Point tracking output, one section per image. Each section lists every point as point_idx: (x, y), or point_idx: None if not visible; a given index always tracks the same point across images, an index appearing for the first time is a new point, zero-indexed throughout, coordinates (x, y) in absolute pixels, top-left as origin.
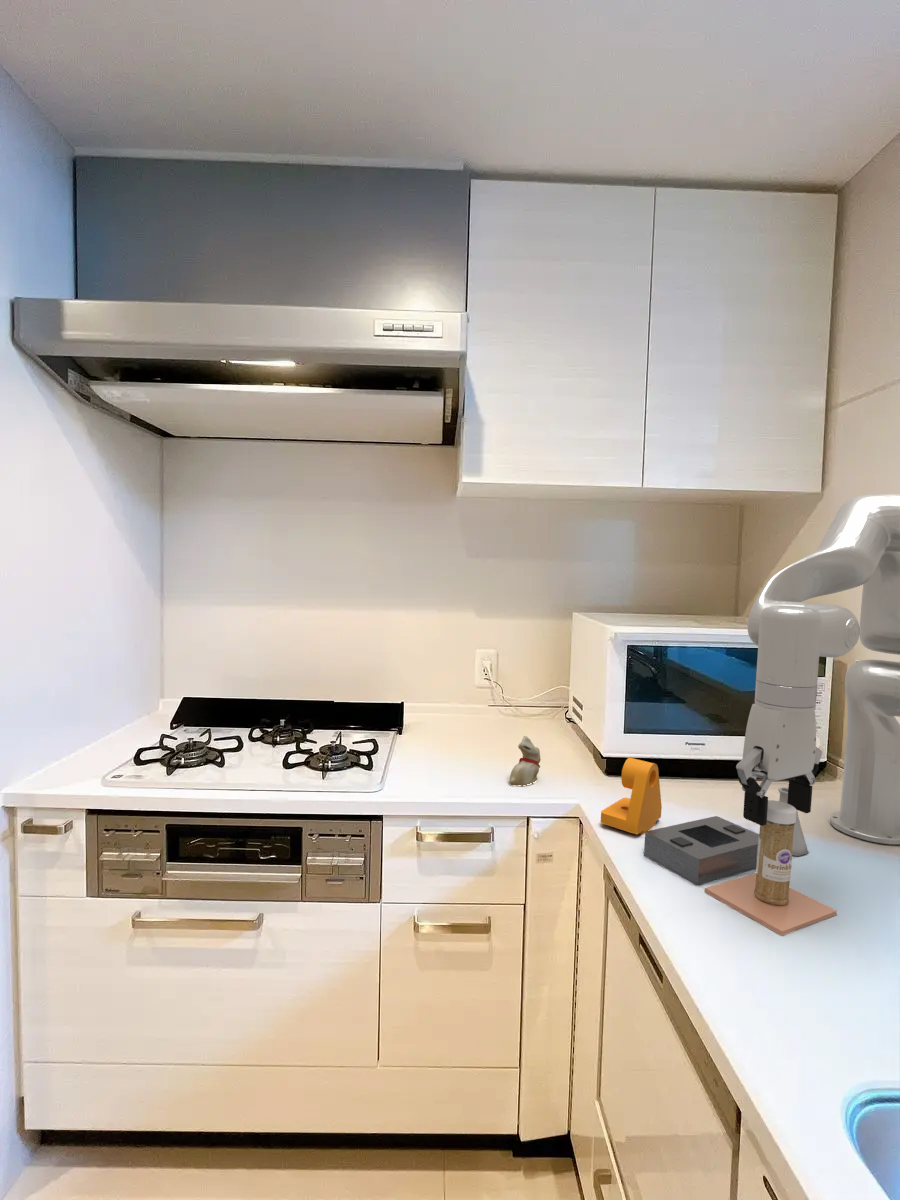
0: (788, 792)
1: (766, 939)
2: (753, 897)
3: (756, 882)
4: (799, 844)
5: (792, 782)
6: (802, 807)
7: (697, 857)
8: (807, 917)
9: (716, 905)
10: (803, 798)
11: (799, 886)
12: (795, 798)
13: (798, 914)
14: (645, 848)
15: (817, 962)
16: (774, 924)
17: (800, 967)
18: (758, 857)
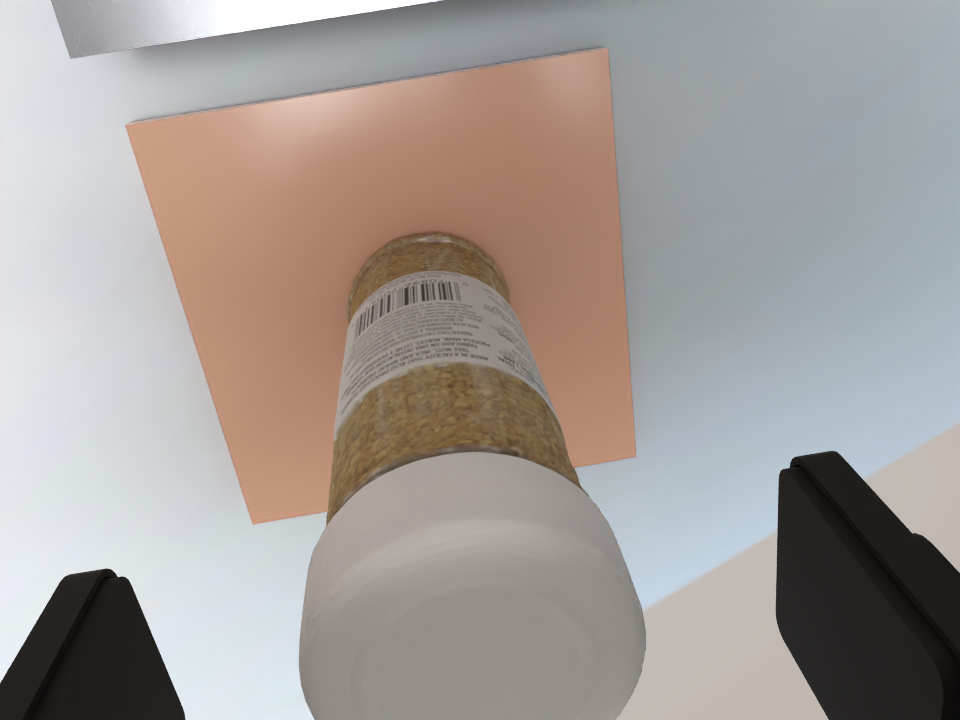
0: (853, 560)
1: (171, 516)
2: (340, 280)
3: (356, 300)
4: None
5: (932, 716)
6: (796, 617)
7: (77, 25)
8: None
9: (116, 254)
10: (838, 700)
11: (719, 208)
12: (830, 602)
13: None
14: None
15: (261, 647)
16: (259, 481)
17: (174, 657)
18: (342, 370)
